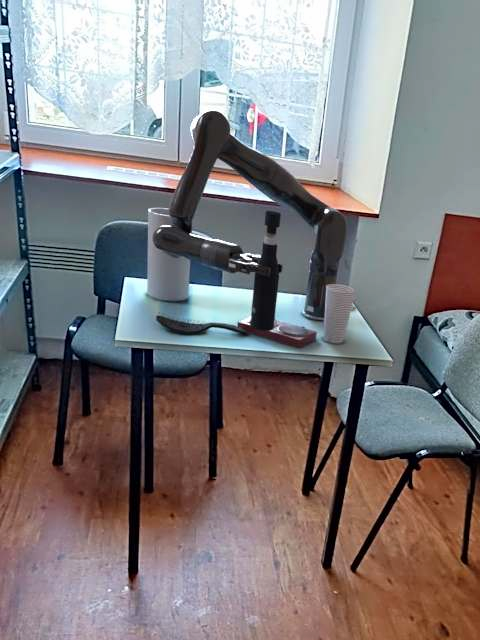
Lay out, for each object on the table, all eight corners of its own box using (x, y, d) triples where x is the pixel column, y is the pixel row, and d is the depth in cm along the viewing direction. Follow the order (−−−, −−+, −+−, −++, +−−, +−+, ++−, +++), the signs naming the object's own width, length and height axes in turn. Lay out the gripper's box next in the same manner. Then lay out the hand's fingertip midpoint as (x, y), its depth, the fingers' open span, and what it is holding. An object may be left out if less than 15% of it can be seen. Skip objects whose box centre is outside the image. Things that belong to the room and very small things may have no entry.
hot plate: (258, 321, 199) (259, 312, 197) (317, 338, 193) (318, 329, 192) (237, 329, 189) (238, 319, 187) (298, 347, 183) (299, 338, 182)
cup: (344, 347, 190) (353, 294, 183) (316, 341, 191) (323, 288, 183) (349, 339, 198) (357, 287, 190) (321, 333, 198) (329, 282, 191)
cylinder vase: (187, 303, 203) (191, 219, 191) (145, 299, 200) (146, 213, 188) (188, 293, 213) (192, 212, 201) (148, 288, 210) (149, 206, 198)
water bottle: (277, 327, 182) (289, 214, 168) (267, 332, 177) (279, 216, 163) (256, 321, 184) (267, 208, 169) (246, 326, 178) (256, 210, 164)
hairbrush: (250, 329, 181) (156, 317, 173) (248, 342, 183) (155, 330, 175) (246, 320, 188) (156, 308, 180) (245, 332, 190) (155, 321, 182)
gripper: (206, 244, 169) (263, 259, 164) (236, 238, 181) (290, 252, 176) (205, 273, 173) (260, 289, 168) (234, 266, 185) (287, 280, 180)
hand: (275, 270), depth 172 cm, fingers closed on water bottle, 6 cm apart
